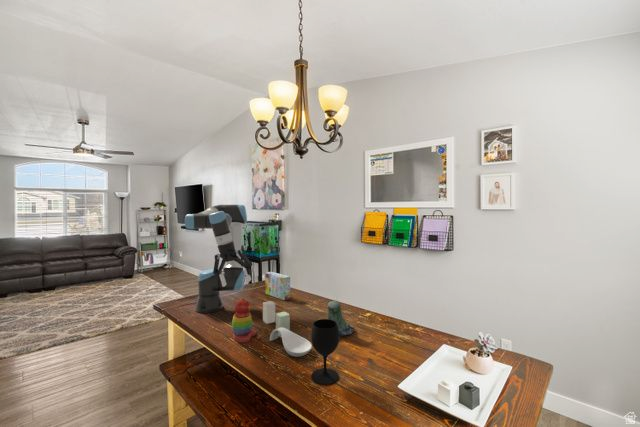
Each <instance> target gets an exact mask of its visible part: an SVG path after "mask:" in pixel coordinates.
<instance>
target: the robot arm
mask: <svg viewBox="0 0 640 427" xmlns="http://www.w3.org/2000/svg"><path fill="white" fill-rule="evenodd" d="M246 223H248V216H247V209H246V206H245V205H244V204H217V205H212V206H210V207H207V208H206V209H205V210H204V211H200V212H198V213H192V214H191V213H188V214H186V215H185V217H184V227H185V228H186V229H189V230H196V229H197V230H198V229H199V230H201V229H210V230H211V229H212V232H213V235H214V238H215V242H216V245H217V249H218V252H219V253H217V254H215V255H214V264H213V268H210V269H206V270H203V271H201V272H199V273H198V281H197V282H198V299H197V302H196V305H195V312H197V313H199V314H200V313H201V314H210V313H215V312H219V311H221V310H222V309H223V308H224V306H223V305H224V304H223V301H222V298H221V296H220V292H233V291H234V292H236V291H242V290H243V289H244V286H245V280H247V283H250V282H251V281H252V276H251V273H252V272H251V269H250V268H251V267H252V266H253V263H252V261H251V260H250V259H249V258H248V257H247V255H246V254H245V253H244V252H243V249H242V238H243V236H242V234H243V228H244V227H245V224H246ZM220 259H221V263H220Z"/></svg>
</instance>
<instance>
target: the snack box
mask: <svg viewBox="0 0 640 427" xmlns="http://www.w3.org/2000/svg"><path fill="white" fill-rule="evenodd" d="M264 276H265V280H264V281H265V288H264V290H265V292H264V293H265V295H268V296H271V297H273V298H277V299H280V300H282V301H286V300H287V301H288V300H290V299H291V276H289V275H284V274H282V273H279V272H278V273H277V272H276V271H275V272H274V271H268V272H265V275H264Z"/></svg>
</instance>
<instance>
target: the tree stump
mask: <svg viewBox="0 0 640 427" xmlns="http://www.w3.org/2000/svg"><path fill="white" fill-rule="evenodd" d="M326 319H330V320H333V321H335V322H336V323H337V326H338V330H339V338H340V337H341V338H342V337H347V336H350V335H352V334H353V333H354V332H355V327H354V326H353V325H352V324H350V323H349V322H348V321H346V319H345V318H344V316H343V313H342V307H341V303H340V302H339V301H338V300H331V301H329V302H328V303H327V318H326Z"/></svg>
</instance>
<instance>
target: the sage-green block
mask: <svg viewBox="0 0 640 427" xmlns="http://www.w3.org/2000/svg"><path fill="white" fill-rule="evenodd" d="M290 319H291V317H290V314H289V313H288V312H286V311H285V310H284V311H281V312H280V311H279V312H277V313H276V312H275V329H278V328H281V327H283V328H286V329H288V330H290V331H291V326H290V325H291V324H290V322H291V320H290ZM278 338H282V336H281V333H280V332H278Z"/></svg>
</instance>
